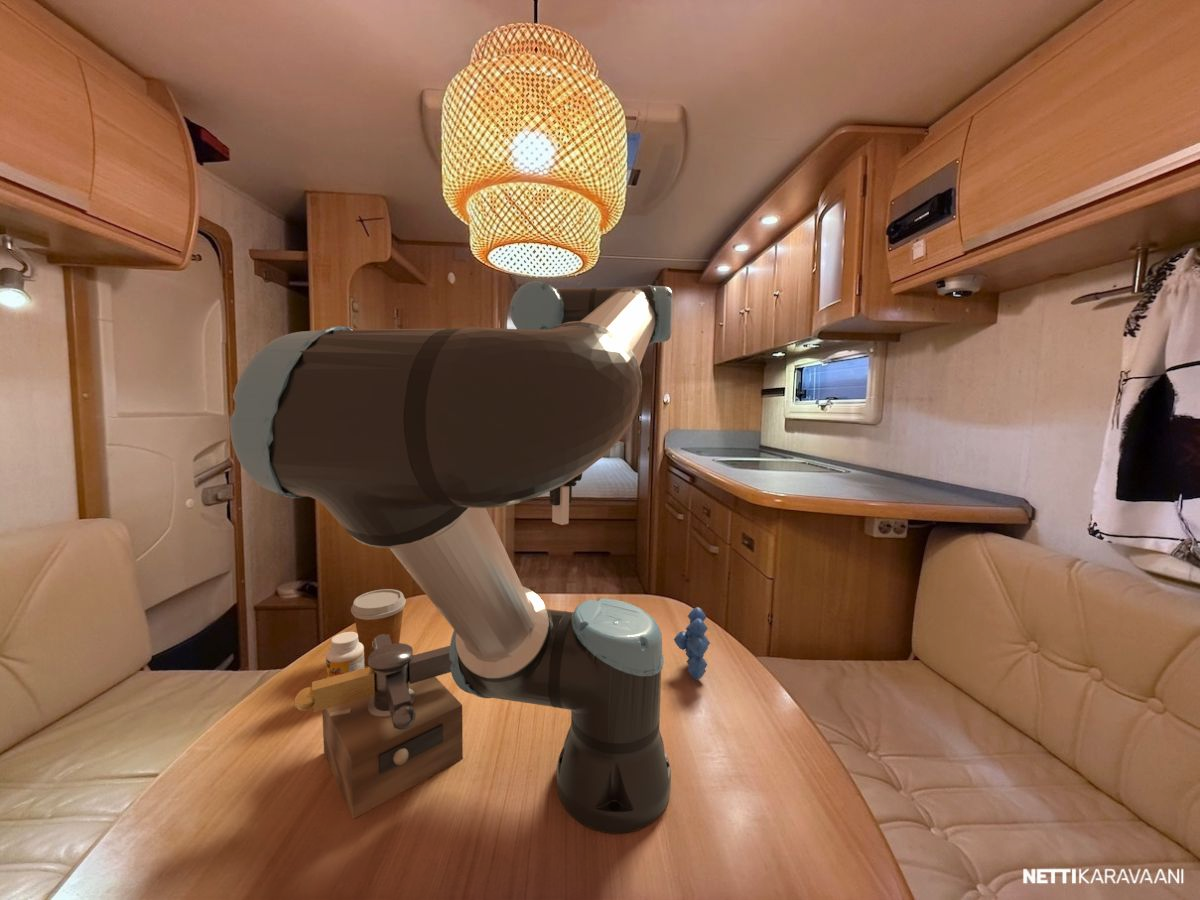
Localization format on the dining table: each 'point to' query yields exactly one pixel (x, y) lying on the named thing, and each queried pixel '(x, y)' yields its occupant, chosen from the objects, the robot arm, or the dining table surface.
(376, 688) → the capstan
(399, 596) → the disposable coffee cup
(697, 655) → the grapes
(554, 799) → the dining table surface
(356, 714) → the stand
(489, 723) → the dining table surface
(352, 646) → the supplement bottle
